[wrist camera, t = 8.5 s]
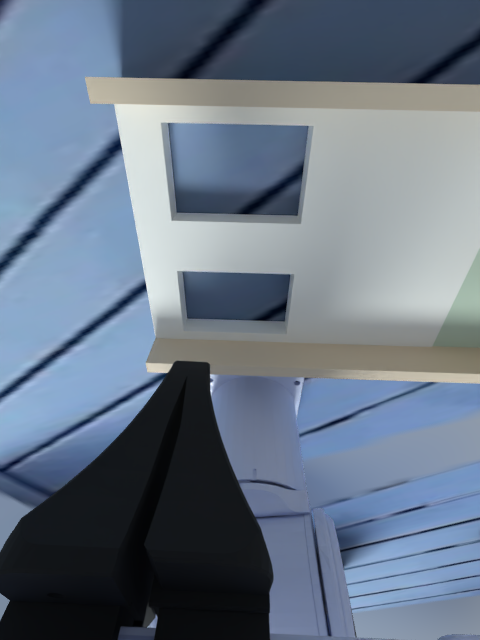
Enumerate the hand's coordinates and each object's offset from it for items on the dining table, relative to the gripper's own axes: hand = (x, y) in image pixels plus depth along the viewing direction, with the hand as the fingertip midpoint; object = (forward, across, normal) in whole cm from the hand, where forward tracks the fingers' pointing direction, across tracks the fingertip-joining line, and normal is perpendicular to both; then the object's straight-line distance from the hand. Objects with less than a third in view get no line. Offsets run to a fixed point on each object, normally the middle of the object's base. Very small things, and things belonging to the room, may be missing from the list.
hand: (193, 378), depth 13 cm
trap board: (+9, -10, -2) cm, 14 cm away
